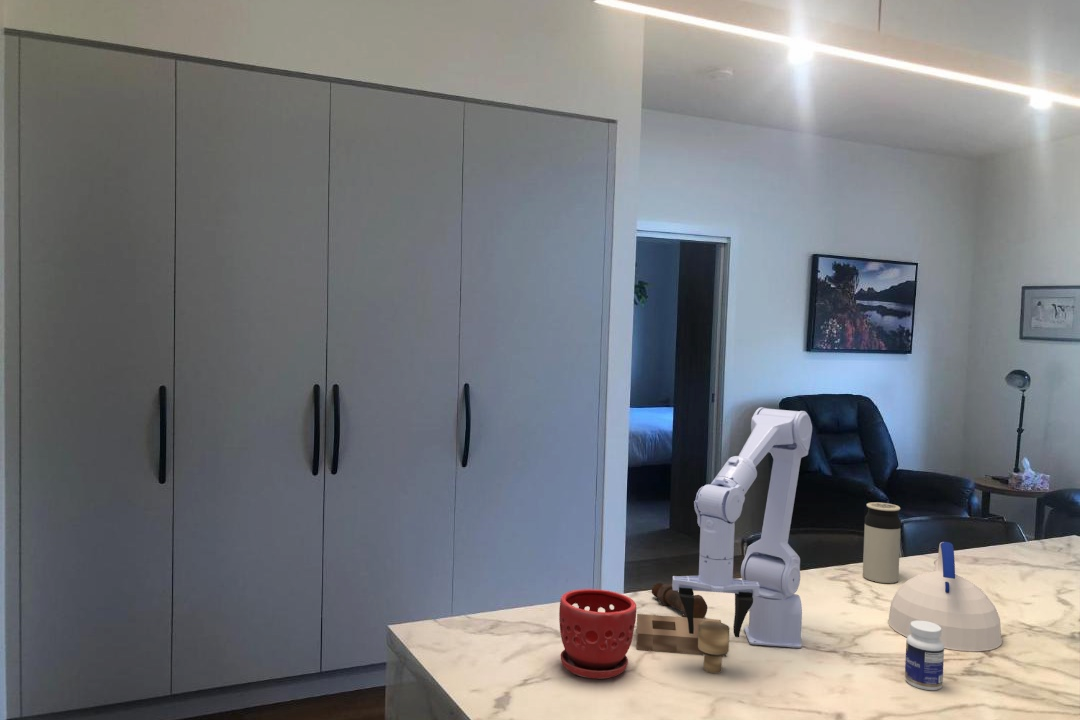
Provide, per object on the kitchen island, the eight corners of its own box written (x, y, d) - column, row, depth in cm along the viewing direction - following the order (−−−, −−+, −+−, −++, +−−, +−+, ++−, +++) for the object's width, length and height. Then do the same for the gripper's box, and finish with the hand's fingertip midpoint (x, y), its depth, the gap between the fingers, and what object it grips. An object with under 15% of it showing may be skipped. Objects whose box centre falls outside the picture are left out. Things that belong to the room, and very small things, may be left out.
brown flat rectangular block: (720, 635, 148) (720, 619, 148) (726, 656, 138) (726, 639, 138) (636, 629, 150) (637, 613, 150) (636, 649, 140) (637, 633, 140)
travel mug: (904, 584, 182) (907, 509, 181) (870, 583, 182) (873, 508, 182) (889, 574, 190) (892, 502, 189) (857, 573, 190) (860, 501, 190)
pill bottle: (897, 676, 131) (900, 619, 131) (929, 675, 132) (931, 618, 132) (917, 691, 126) (919, 632, 125) (950, 691, 126) (952, 631, 126)
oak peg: (726, 664, 134) (727, 622, 134) (729, 677, 129) (731, 633, 129) (696, 662, 135) (697, 620, 135) (698, 674, 130) (699, 631, 130)
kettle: (995, 623, 158) (999, 537, 158) (1009, 661, 139) (1013, 563, 139) (888, 606, 167) (891, 524, 166) (887, 640, 148) (891, 547, 147)
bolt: (659, 606, 169) (699, 628, 155) (642, 596, 167) (681, 618, 153) (671, 581, 170) (711, 601, 156) (654, 572, 168) (694, 591, 154)
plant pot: (613, 692, 123) (615, 618, 122) (543, 671, 130) (545, 601, 129) (646, 664, 134) (648, 596, 133) (580, 646, 141) (582, 581, 140)
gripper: (674, 559, 128) (672, 638, 129) (763, 564, 127) (760, 645, 127) (672, 547, 135) (670, 623, 136) (756, 553, 134) (753, 629, 134)
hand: (713, 633), depth 132 cm, fingers open, 7 cm apart
